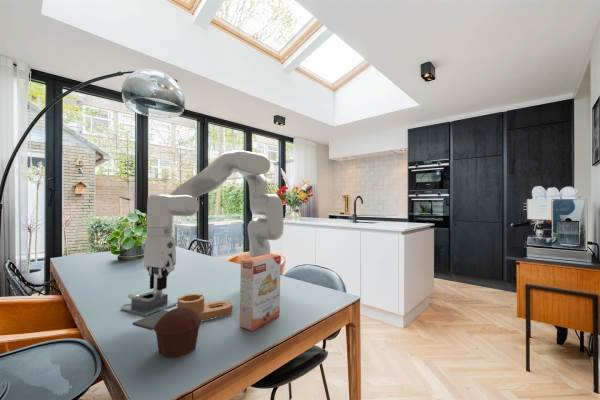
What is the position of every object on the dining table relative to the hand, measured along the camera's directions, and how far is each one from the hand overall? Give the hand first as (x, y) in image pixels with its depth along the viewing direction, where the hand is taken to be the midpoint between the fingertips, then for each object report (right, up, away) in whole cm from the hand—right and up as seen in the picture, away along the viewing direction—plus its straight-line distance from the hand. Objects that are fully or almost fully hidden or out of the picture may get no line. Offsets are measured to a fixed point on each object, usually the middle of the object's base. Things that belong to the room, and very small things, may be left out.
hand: (158, 288), depth 87 cm
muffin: (+14, -10, -17) cm, 25 cm away
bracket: (+14, -11, +4) cm, 18 cm away
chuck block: (-10, -10, +11) cm, 18 cm away
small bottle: (0, -3, 0) cm, 3 cm away
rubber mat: (0, -10, 0) cm, 10 cm away
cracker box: (+34, -11, 0) cm, 35 cm away
